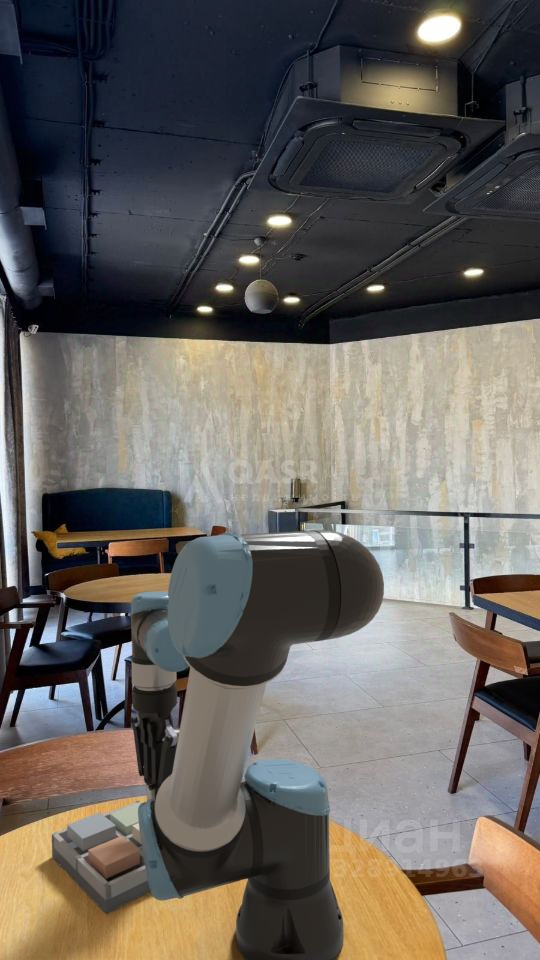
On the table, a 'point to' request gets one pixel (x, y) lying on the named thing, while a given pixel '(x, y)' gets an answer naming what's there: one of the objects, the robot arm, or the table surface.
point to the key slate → (91, 831)
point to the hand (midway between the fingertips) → (156, 822)
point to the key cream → (136, 833)
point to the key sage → (125, 819)
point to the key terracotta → (113, 856)
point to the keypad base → (98, 888)
